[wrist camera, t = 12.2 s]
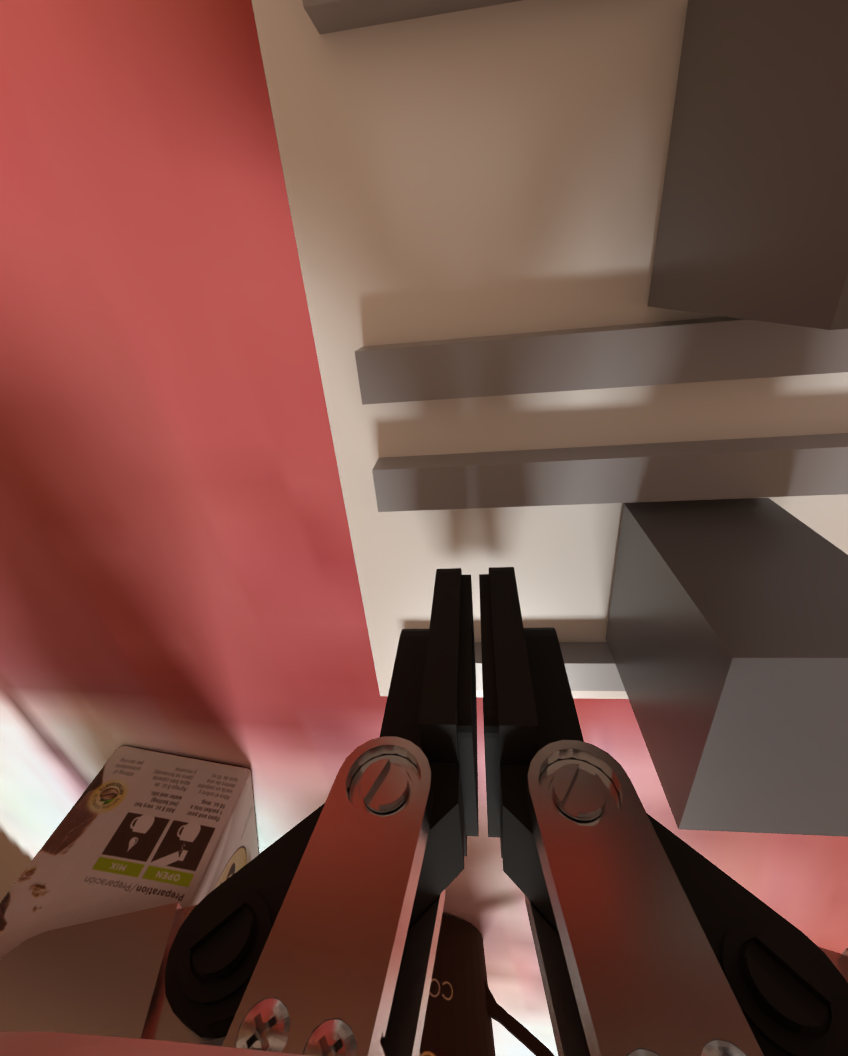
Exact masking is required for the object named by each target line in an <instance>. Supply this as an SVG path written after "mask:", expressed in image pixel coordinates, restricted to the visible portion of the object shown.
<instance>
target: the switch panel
mask: <svg viewBox="0 0 848 1056" xmlns="http://www.w3.org/2000/svg"><path fill="white" fill-rule="evenodd" d="M251 1H252V7H253V12H254V17H255V23H256V28H257V33H258V39H259V44H260V50H261V55H262V60H263V66H264V71H265V77H266V82H267V87H268V93H269V98H270V104H271V109H272V114H273V120H274V125H275V131H276V136H277V141H278V147H279V152H280V158H281V163H282V168H283V174H284V179H285V185H286V190H287V195H288V201H289V206H290V212H291V217H292V222H293V228H294V233H295V239H296V244H297V249H298V255H299V260H300V266H301V271H302V276H303V282H304V287H305V293H306V298H307V303H308V309H309V314H310V320H311V325H312V330H313V336H314V341H315V346H316V352H317V357H318V363H319V368H320V373H321V379H322V384H323V390H324V395H325V400H326V406H327V411H328V417H329V422H330V427H331V433H332V438H333V444H334V449H335V454H336V460H337V465H338V471H339V476H340V481H341V487H342V492H343V498H344V503H345V508H346V514H347V519H348V525H349V530H350V535H351V541H352V546H353V552H354V557H355V562H356V568H357V573H358V579H359V584H360V589H361V595H362V600H363V606H364V611H365V616H366V622H367V627H368V633H369V638H370V643H371V649H372V654H373V659H374V665H375V670H376V676H377V681H378V686H379V692H380V696H388V693H389V688H390V683H391V678H392V673H393V668H394V663H395V658H396V653H397V648H398V643H399V638H400V634H401V631H402V629H429V627H430V619H431V610H432V602H433V593H434V585H435V576H436V569H451V568H461V570H462V575H471V581H472V602H473V622H474V643H475V664H476V697H483V682H482V651H481V619H480V588H479V574H489V568H490V567H514V570H515V577H516V583H517V590H518V596H519V603H520V609H521V615H522V622H523V628H546V627H554V628H555V630H556V633H557V636H558V640H559V644H560V648H561V652H562V656H563V660H564V664H565V668H566V672H567V676H568V680H569V684H570V688H571V692H572V696H573V698H601V699H629V698H628V696H627V693H626V691H625V688H624V685H623V683H622V680H621V678H620V675H619V672H618V670H617V667H616V665H615V662H614V659H613V657H612V654H611V651H610V649H609V646H608V644H607V641H606V632H607V625H608V617H609V610H610V603H611V595H612V588H613V580H614V573H615V566H616V558H617V551H618V543H619V536H620V529H621V521H622V514H623V506H624V503H638V502H664V501H691V500H717V499H743V498H769V499H771V500H772V501H774V502H775V503H776V504H778V505H779V506H780V507H782V508H783V509H785V510H786V511H787V512H789V513H790V514H792V515H793V516H794V517H796V518H797V519H799V520H800V521H801V522H803V523H804V524H806V525H807V526H808V527H810V528H811V529H813V530H814V531H815V532H817V533H818V534H819V535H821V536H822V537H824V538H825V539H826V540H828V541H829V542H831V543H832V544H833V545H835V546H836V547H838V548H839V549H840V550H842V551H843V552H845V553H846V554H847V555H848V329H838V330H825V329H818V328H810V327H802V326H794V325H787V324H779V323H771V322H764V321H756V320H748V319H741V318H733V317H725V316H718V315H710V314H702V313H695V312H687V311H679V310H672V309H664V308H656V307H649V306H648V299H649V292H650V284H651V277H652V269H653V262H654V254H655V247H656V239H657V232H658V224H659V216H660V209H661V201H662V194H663V186H664V179H665V171H666V164H667V156H668V148H669V141H670V133H671V126H672V118H673V111H674V103H675V96H676V88H677V81H678V73H679V65H680V58H681V50H682V43H683V35H684V28H685V20H686V13H687V5H688V0H251Z"/></svg>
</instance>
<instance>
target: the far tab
mask: <svg viewBox="0 0 848 1056" xmlns="http://www.w3.org/2000/svg"><path fill="white" fill-rule="evenodd" d="M606 641H607V644H608V646H609V649H610V651H611V654H612V657H613V659H614V662H615V665H616V667H617V670H618V672H619V675H620V678H621V680H622V683H623V685H624V688H625V691H626V693H627V696H628V698H629V701H630V704H631V706H632V709H633V712H634V714H635V717H636V719H637V722H638V725H639V727H640V730H641V732H642V735H643V738H644V740H645V743H646V746H647V748H648V751H649V753H650V756H651V759H652V761H653V764H654V766H655V769H656V772H657V774H658V777H659V779H660V782H661V785H662V787H663V790H664V793H665V795H666V798H667V800H668V803H669V806H670V808H671V811H672V813H673V816H674V819H675V821H676V824H677V826H678V829H686V830H709V831H732V832H755V833H778V834H802V835H825V836H848V555H847V554H846V553H845V552H843V551H842V550H840V549H839V548H838V547H836V546H835V545H833V544H832V543H831V542H829V541H828V540H826V539H825V538H824V537H822V536H821V535H819V534H818V533H817V532H815V531H814V530H813V529H811V528H810V527H808V526H807V525H806V524H804V523H803V522H801V521H800V520H799V519H797V518H796V517H794V516H793V515H792V514H790V513H789V512H787V511H786V510H785V509H783V508H782V507H780V506H779V505H778V504H776V503H775V502H774V501H772V500H771V499H769V498H743V499H717V500H691V501H664V502H638V503H624V506H623V514H622V521H621V529H620V536H619V543H618V551H617V558H616V566H615V573H614V580H613V588H612V595H611V603H610V610H609V617H608V625H607V632H606Z"/></svg>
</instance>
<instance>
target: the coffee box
mask: <svg viewBox="0 0 848 1056" xmlns="http://www.w3.org/2000/svg"><path fill="white" fill-rule="evenodd" d="M258 855H259V851H258V840H257V831H256V821H255V811H254V800H253V790H252V779H251V771H250V770H249V769H247V768H242V767H237V766H231V765H225V764H219V763H213V762H209V761H203V760H198V759H192V758H186V757H181V756H176V755H171V754H165V753H159V752H154V751H149V750H144V749H139V748H134V747H129V746H121V747H119V748H118V749H117V750H116V751H115V752H114V754H113V755H112V756H111V757H110V758H109V760H108V761H107V762H106V764H105V765H104V767H103V768H102V769H101V771H100V772H99V773H98V775H97V776H96V777H95V779H94V780H93V781H92V782H91V784H90V785H89V786H88V788H87V789H86V790H85V792H84V793H83V794H82V796H81V797H80V798H79V800H78V801H77V802H76V804H75V805H74V806H73V808H72V809H71V810H70V812H69V813H68V814H67V816H66V817H65V818H64V819H63V821H62V822H61V823H60V825H59V826H58V827H57V829H56V830H55V831H54V832H53V834H52V835H51V836H50V838H49V839H48V841H47V842H46V843H45V845H44V846H43V847H42V849H41V850H40V851H39V852H38V853H37V855H36V856H35V857H34V858H33V860H32V861H31V862H30V864H29V865H28V866H27V868H26V869H25V870H24V872H23V873H22V874H21V876H20V877H19V878H18V880H17V881H16V882H15V883H14V885H13V886H12V887H11V889H10V890H9V892H8V893H7V895H6V896H5V897H4V899H3V900H2V901H1V903H0V960H1V959H2V958H3V956H4V955H6V954H7V953H8V952H10V951H11V950H12V949H14V948H15V947H17V946H18V945H19V944H21V943H22V942H24V941H25V940H26V939H28V938H31V937H33V936H36V935H38V934H41V933H43V932H46V931H49V930H54V929H58V928H63V927H68V926H72V925H77V924H81V923H86V922H90V921H95V920H99V919H104V918H108V917H113V916H118V915H122V914H127V913H131V912H136V911H140V910H145V909H149V908H154V907H158V906H163V905H167V904H172V903H177V902H178V903H179V904H180V905H181V907H182V908H184V907H189V906H193V905H198V904H199V903H200V902H201V901H202V900H203V899H204V898H205V897H206V896H207V895H208V894H209V893H210V892H211V891H213V890H214V889H215V888H217V887H218V886H219V885H220V884H222V883H223V882H224V881H226V880H227V879H228V878H229V877H231V876H232V875H233V874H235V873H236V872H237V871H238V870H240V869H241V868H242V867H244V866H245V865H246V864H247V863H249V862H250V861H251V860H253V859H254V858H255V857H256V856H258Z"/></svg>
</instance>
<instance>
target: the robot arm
mask: <svg viewBox="0 0 848 1056" xmlns="http://www.w3.org/2000/svg"><path fill="white" fill-rule="evenodd" d="M479 588H480V619H481V651H482V682H483V713H484V740H485V765H486V790H487V816H488V837H500V840H501V858H503V871H504V872H505V873H506V874H507V875H508V876H509V877H510V878H511V880H512V881H513V882H514V883H515V884H516V885H517V886H518V887H519V888H520V890H521V891H522V892H523V893H524V894H525V902H526V907H527V912H528V916H529V921H530V925H531V930H532V935H533V939H534V944H535V949H536V953H537V958H538V963H539V967H540V972H541V976H542V981H543V986H544V990H545V995H546V1000H547V1004H548V1009H549V1014H550V1018H551V1023H552V1027H553V1032H554V1037H555V1041H556V1046H557V1051H558V1055H559V1056H848V948H846V949H845V950H844V952H843V953H842V954H840V953H836V952H833V951H830V950H827V949H824V948H820V947H818V946H817V945H816V944H814V943H813V942H812V941H811V940H810V939H809V938H808V937H807V936H806V935H805V934H803V933H802V932H801V931H800V930H799V929H797V928H796V927H795V926H793V925H792V924H791V923H789V922H788V921H787V920H785V919H784V918H783V917H782V916H780V915H779V914H778V913H776V912H775V911H774V910H772V909H771V908H770V907H769V906H767V905H766V904H765V903H763V902H762V901H761V900H759V899H758V898H757V897H755V896H754V895H753V894H752V893H750V892H749V891H748V890H746V889H745V888H744V887H742V886H741V885H740V884H738V883H737V882H736V881H735V880H733V879H732V878H731V877H729V876H728V875H727V874H725V873H724V872H723V871H721V870H720V869H719V868H718V867H716V866H715V865H714V864H712V863H711V862H710V861H708V860H707V859H706V858H705V857H703V856H702V855H701V854H699V853H698V852H697V851H695V850H694V849H693V848H691V847H690V846H689V845H688V844H686V843H685V842H684V841H682V840H681V839H680V838H678V837H677V836H676V835H674V834H673V833H672V832H671V831H669V830H668V829H667V828H665V827H664V826H663V825H661V824H660V823H659V822H657V821H656V820H655V819H654V818H652V817H651V816H650V815H648V814H647V813H646V811H645V809H644V807H643V805H642V803H641V801H640V799H639V797H638V795H637V793H636V791H635V789H634V787H633V785H632V783H631V781H630V779H629V777H628V776H627V774H626V772H625V771H624V769H623V768H622V766H621V765H620V764H619V763H618V762H617V761H616V760H615V759H614V758H613V757H611V756H610V755H609V754H608V753H607V752H605V751H603V750H601V749H600V748H598V747H596V746H594V745H592V744H589V743H585V742H584V741H583V737H582V733H581V729H580V725H579V721H578V716H577V712H576V708H575V704H574V700H573V696H572V692H571V688H570V684H569V680H568V676H567V672H566V668H565V664H564V660H563V656H562V652H561V648H560V644H559V640H558V636H557V633H556V630H555V628H554V627H546V628H523V622H522V615H521V609H520V603H519V596H518V590H517V583H516V577H515V570H514V567H490V568H489V574H479ZM467 836H478V772H477V709H476V664H475V643H474V622H473V602H472V581H471V575H462V570H461V568H451V569H436V576H435V585H434V593H433V602H432V610H431V619H430V627H429V629H402V631H401V634H400V638H399V643H398V648H397V653H396V658H395V663H394V668H393V673H392V678H391V683H390V688H389V693H388V698H387V703H386V708H385V713H384V718H383V723H382V728H381V733H380V738H376V739H372V740H369V741H368V742H366V743H364V744H362V745H361V746H359V747H357V748H356V749H355V750H354V751H353V752H352V753H351V754H350V755H349V756H348V757H347V758H346V760H345V761H344V763H343V765H342V766H341V768H340V770H339V772H338V774H337V776H336V779H335V781H334V784H333V786H332V788H331V791H330V793H329V795H328V798H327V800H326V802H325V803H324V804H323V805H322V806H321V807H319V808H318V809H317V810H315V811H314V812H313V813H312V814H310V815H309V816H308V817H306V818H305V819H304V820H303V821H301V822H300V823H299V824H297V825H296V826H295V827H294V828H292V829H291V830H290V831H288V832H287V833H286V834H285V835H283V836H282V837H281V838H279V839H278V840H277V841H276V842H274V843H273V844H272V845H271V846H269V847H268V848H267V849H265V850H264V851H263V852H262V853H260V854H259V855H258V856H256V857H255V858H254V859H253V860H251V861H250V862H249V863H247V864H246V865H245V866H244V867H242V868H241V869H240V870H238V871H237V872H236V873H235V874H233V875H232V876H231V877H229V878H228V879H227V880H226V881H224V882H223V883H222V884H220V885H219V886H218V887H217V888H215V889H214V890H213V891H211V892H210V893H209V894H208V895H207V896H206V897H205V898H204V899H203V900H202V901H201V902H200V903H199V904H198V905H193V906H189V907H184V908H182V907H181V905H180V904H179V903H178V902H177V903H172V904H167V905H163V906H158V907H154V908H149V909H145V910H140V911H136V912H131V913H127V914H122V915H118V916H113V917H108V918H104V919H99V920H95V921H90V922H86V923H81V924H77V925H72V926H68V927H63V928H58V929H54V930H49V931H46V932H43V933H41V934H38V935H36V936H33V937H31V938H28V939H26V940H25V941H24V942H22V943H21V944H19V945H18V946H17V947H15V948H14V949H12V950H11V951H10V952H8V953H7V954H6V955H4V956H3V958H2V959H1V960H0V1056H419V1051H420V1045H421V1039H422V1033H423V1027H424V1021H425V1015H426V1009H427V1003H428V997H429V991H430V985H431V979H432V973H433V967H434V961H435V955H436V949H437V943H438V937H439V931H440V925H441V919H442V913H443V907H444V901H445V888H446V887H447V886H448V885H449V884H450V883H451V882H452V881H453V880H454V879H455V878H456V877H457V876H458V874H459V873H460V872H461V871H462V870H463V869H464V856H467Z"/></svg>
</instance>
